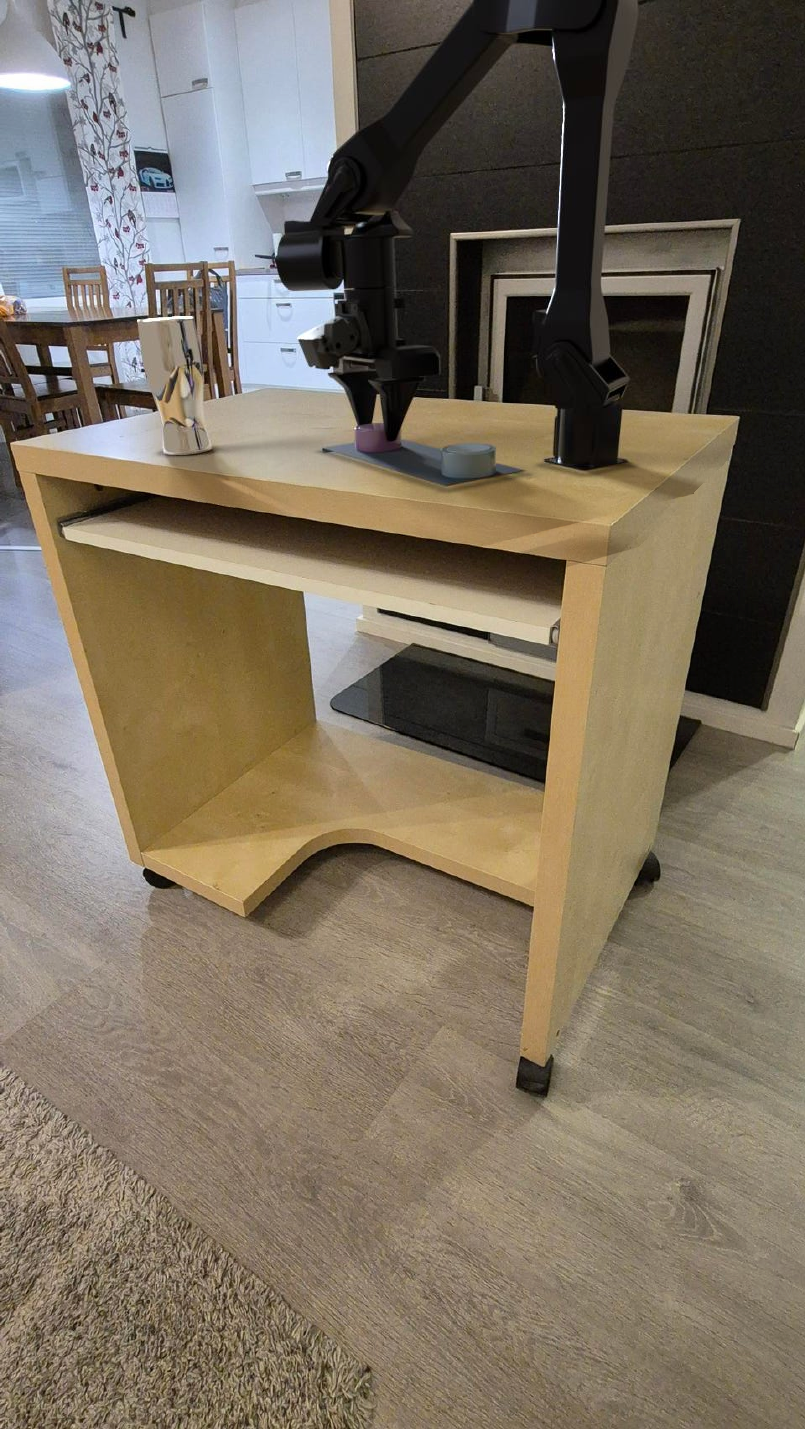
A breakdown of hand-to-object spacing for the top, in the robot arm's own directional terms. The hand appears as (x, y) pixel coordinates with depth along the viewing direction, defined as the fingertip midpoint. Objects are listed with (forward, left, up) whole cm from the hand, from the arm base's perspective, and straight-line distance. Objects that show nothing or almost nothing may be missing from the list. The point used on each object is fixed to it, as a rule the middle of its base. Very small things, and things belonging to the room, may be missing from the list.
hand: (377, 437), depth 92 cm
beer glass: (+18, +18, -2) cm, 25 cm away
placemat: (-8, 0, -2) cm, 8 cm away
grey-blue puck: (-18, 0, -1) cm, 18 cm away
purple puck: (0, 0, -1) cm, 1 cm away
